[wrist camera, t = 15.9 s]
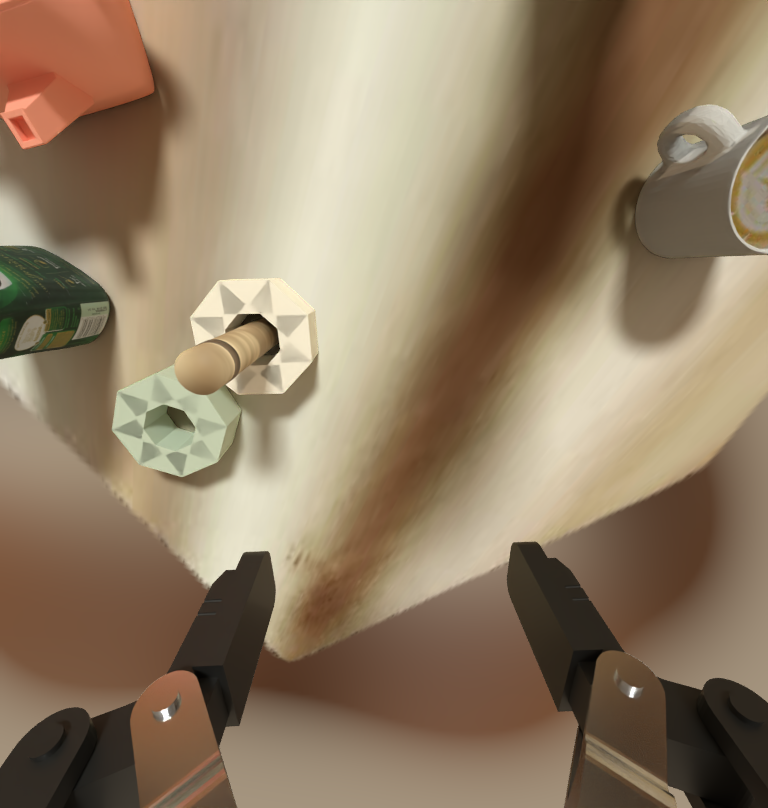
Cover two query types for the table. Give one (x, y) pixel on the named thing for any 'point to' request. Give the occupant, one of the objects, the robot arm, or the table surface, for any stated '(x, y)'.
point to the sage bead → (157, 434)
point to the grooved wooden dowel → (224, 356)
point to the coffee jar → (46, 303)
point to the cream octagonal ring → (280, 309)
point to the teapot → (67, 63)
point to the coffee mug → (707, 188)
